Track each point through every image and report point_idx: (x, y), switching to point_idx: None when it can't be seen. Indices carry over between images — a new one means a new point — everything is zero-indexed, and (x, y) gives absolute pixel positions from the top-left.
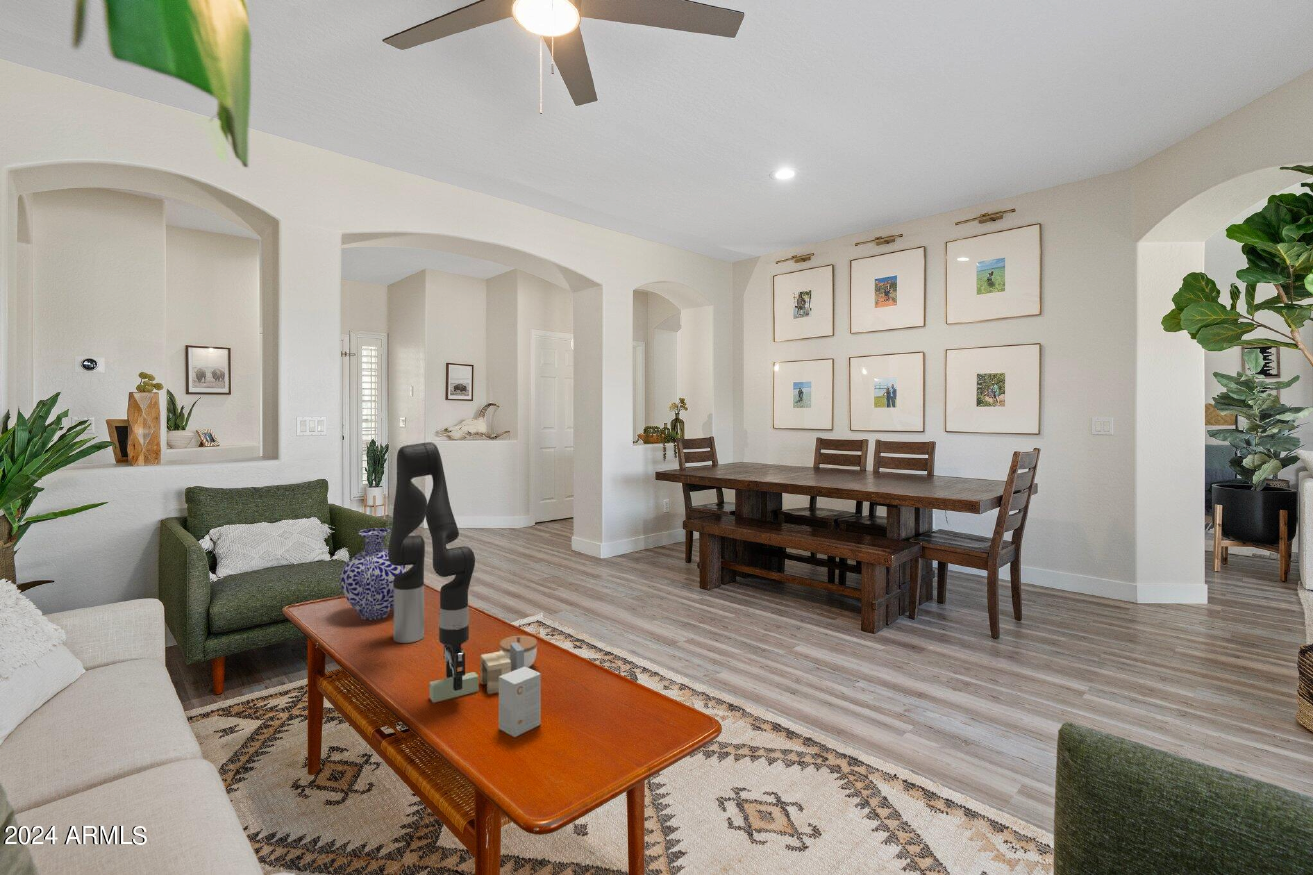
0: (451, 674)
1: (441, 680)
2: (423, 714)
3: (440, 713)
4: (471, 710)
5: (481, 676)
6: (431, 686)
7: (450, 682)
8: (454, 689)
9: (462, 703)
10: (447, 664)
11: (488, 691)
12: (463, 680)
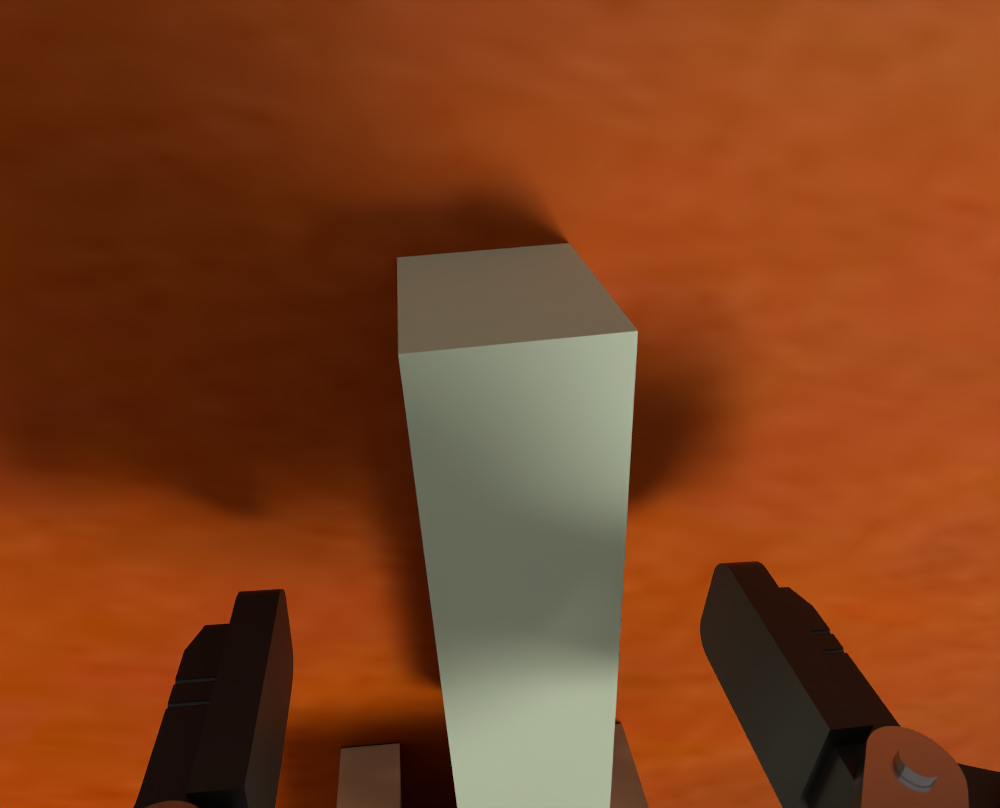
0: (723, 633)
1: (590, 507)
2: (31, 29)
3: (6, 277)
4: (7, 594)
5: (611, 793)
6: (511, 327)
7: (440, 603)
8: (235, 603)
9: (226, 544)
10: (832, 740)
11: (342, 772)
12: (449, 725)
